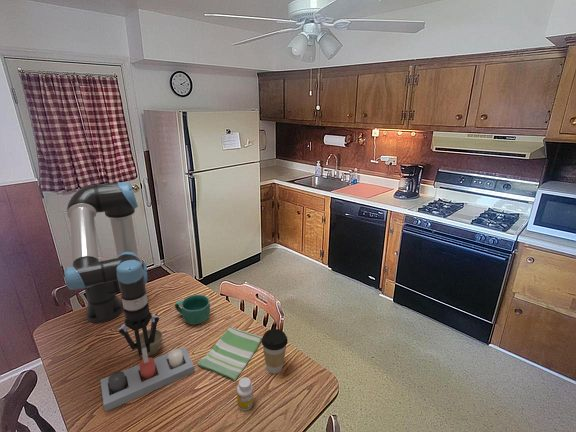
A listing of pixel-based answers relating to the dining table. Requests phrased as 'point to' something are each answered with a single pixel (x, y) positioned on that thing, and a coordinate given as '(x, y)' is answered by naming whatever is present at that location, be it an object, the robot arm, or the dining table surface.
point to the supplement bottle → (245, 394)
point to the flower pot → (156, 344)
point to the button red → (147, 369)
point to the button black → (117, 382)
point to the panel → (148, 385)
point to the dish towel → (231, 353)
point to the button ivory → (175, 358)
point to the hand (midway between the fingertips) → (145, 360)
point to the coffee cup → (274, 349)
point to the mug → (194, 309)
